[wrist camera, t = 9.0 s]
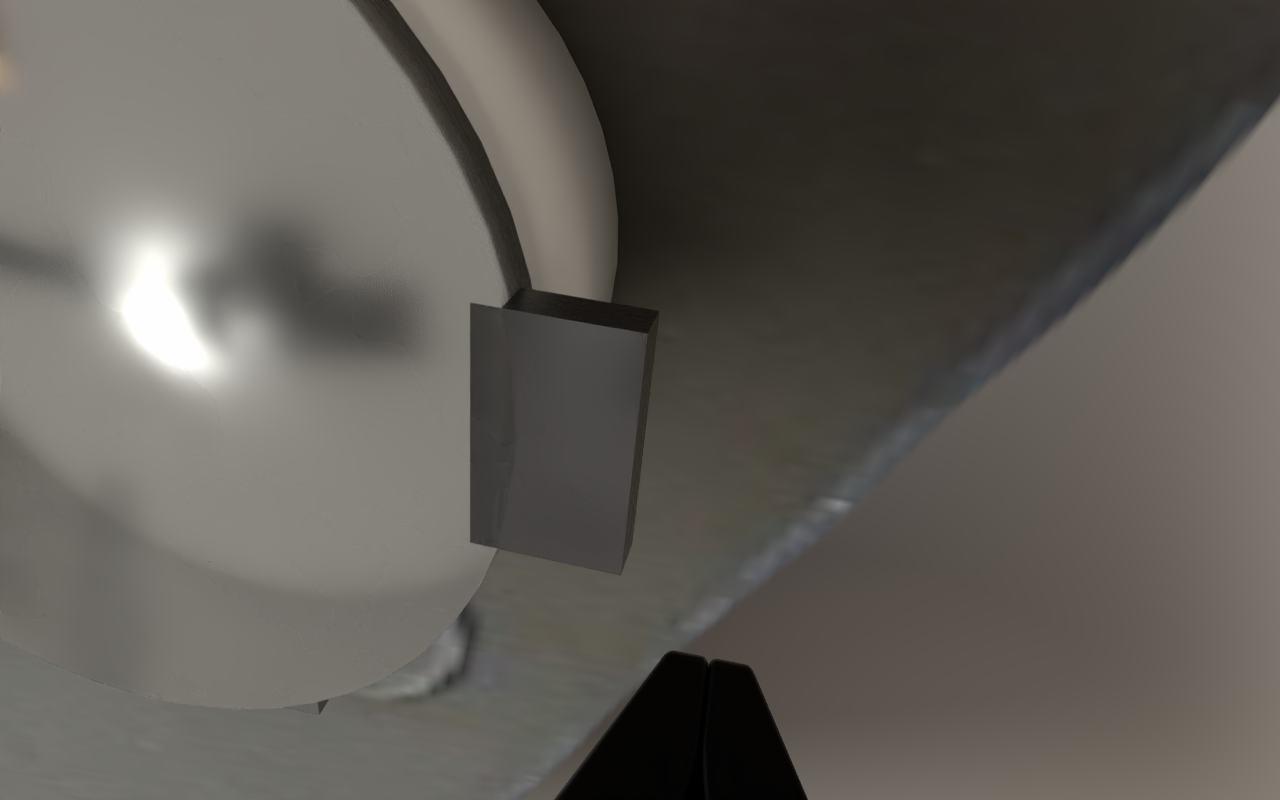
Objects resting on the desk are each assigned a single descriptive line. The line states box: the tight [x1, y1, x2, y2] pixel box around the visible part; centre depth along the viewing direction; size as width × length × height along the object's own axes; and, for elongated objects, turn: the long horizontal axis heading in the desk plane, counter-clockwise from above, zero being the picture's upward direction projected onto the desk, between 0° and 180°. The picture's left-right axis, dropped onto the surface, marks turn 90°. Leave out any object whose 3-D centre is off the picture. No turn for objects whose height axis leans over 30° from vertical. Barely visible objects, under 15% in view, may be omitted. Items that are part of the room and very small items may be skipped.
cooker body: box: [283, 0, 618, 715], centre depth 17 cm, size 16×20×6 cm
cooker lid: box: [0, 0, 659, 709], centre depth 13 cm, size 17×15×2 cm
